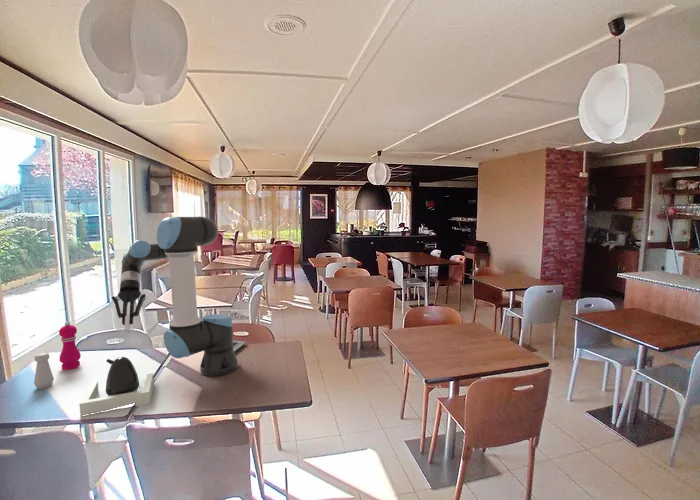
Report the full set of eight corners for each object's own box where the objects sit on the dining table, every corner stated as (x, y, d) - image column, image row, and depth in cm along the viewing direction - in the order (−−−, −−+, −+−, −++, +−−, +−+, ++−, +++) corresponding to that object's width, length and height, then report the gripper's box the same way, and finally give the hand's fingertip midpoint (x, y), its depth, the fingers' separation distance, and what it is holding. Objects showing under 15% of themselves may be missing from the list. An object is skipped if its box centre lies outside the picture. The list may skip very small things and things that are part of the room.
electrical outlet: (234, 355, 171) (233, 350, 171) (213, 354, 173) (213, 349, 173) (246, 345, 184) (246, 341, 184) (227, 344, 186) (227, 339, 186)
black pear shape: (119, 390, 137) (116, 351, 135) (145, 391, 136) (143, 352, 135) (98, 404, 127) (95, 362, 125) (127, 406, 126) (124, 363, 125)
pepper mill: (56, 369, 155) (52, 323, 153) (74, 362, 162) (71, 318, 160) (67, 372, 153) (63, 325, 150) (85, 365, 159) (81, 320, 157)
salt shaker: (32, 391, 136) (29, 358, 135) (37, 385, 141) (33, 352, 140) (52, 388, 139) (49, 355, 137) (56, 381, 144) (53, 350, 142)
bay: (92, 394, 134) (91, 382, 134) (153, 384, 142) (153, 373, 142) (80, 416, 120) (79, 403, 119) (149, 404, 128) (149, 391, 127)
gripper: (147, 287, 169) (146, 333, 155) (114, 289, 163) (109, 337, 150) (145, 277, 163) (144, 324, 150) (111, 279, 158) (106, 328, 145)
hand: (126, 331), depth 150 cm, fingers closed
